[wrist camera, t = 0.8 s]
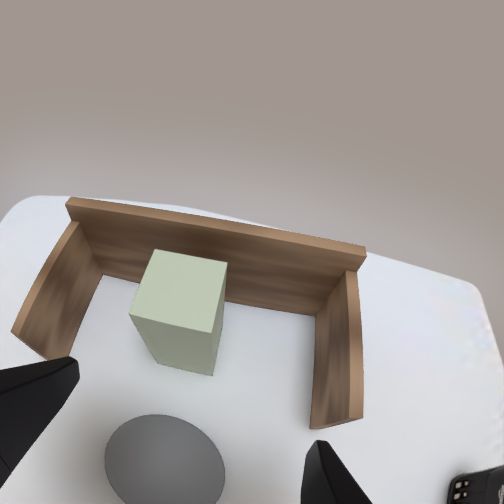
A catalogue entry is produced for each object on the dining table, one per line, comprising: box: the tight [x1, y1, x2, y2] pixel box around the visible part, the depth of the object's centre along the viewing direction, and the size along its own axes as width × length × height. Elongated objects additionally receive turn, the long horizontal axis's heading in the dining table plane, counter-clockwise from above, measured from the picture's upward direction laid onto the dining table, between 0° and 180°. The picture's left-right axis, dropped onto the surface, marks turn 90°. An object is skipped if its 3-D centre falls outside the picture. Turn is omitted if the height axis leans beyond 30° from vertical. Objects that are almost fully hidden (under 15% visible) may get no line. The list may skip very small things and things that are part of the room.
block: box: [129, 249, 227, 376], centre depth 20 cm, size 5×5×10 cm
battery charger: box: [448, 464, 504, 504], centre depth 9 cm, size 7×4×11 cm, turn 171°
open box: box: [11, 197, 367, 429], centre depth 20 cm, size 12×25×10 cm, turn 82°
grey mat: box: [105, 415, 225, 504], centre depth 16 cm, size 10×10×1 cm
